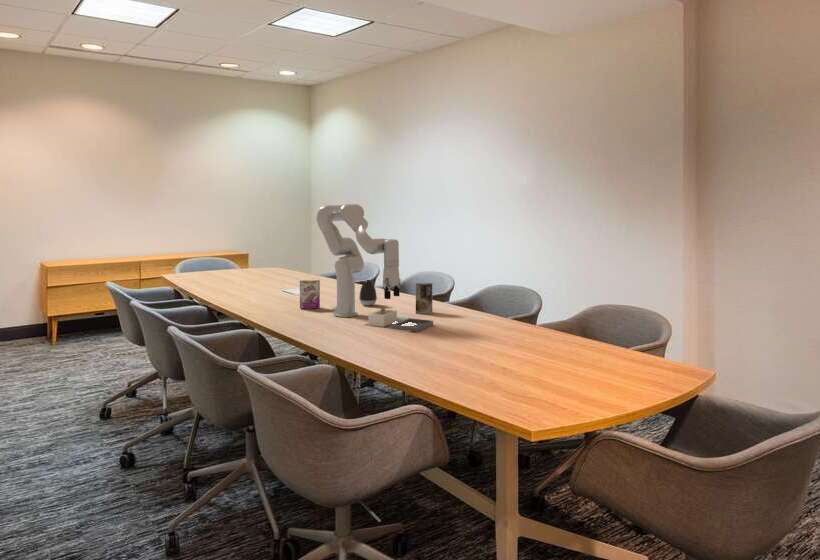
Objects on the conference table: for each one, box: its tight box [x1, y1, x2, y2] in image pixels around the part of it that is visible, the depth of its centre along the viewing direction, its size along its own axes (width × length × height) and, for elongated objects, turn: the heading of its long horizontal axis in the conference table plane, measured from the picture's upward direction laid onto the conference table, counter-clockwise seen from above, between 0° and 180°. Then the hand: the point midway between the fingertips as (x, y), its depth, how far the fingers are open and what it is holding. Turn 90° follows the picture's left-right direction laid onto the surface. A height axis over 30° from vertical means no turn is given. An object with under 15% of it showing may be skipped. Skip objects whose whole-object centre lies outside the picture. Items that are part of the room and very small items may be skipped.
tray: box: [390, 317, 434, 333], centre depth 297 cm, size 13×19×2 cm
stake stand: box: [363, 308, 393, 329], centre depth 302 cm, size 13×17×8 cm
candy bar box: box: [299, 278, 321, 310], centre depth 345 cm, size 11×5×16 cm, turn 98°
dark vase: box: [358, 279, 378, 307], centre depth 356 cm, size 10×10×15 cm
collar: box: [368, 309, 398, 328], centre depth 302 cm, size 8×14×6 cm, turn 154°
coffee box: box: [415, 282, 433, 315], centre depth 333 cm, size 9×6×16 cm
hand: (392, 297), depth 309 cm, fingers open, 9 cm apart
